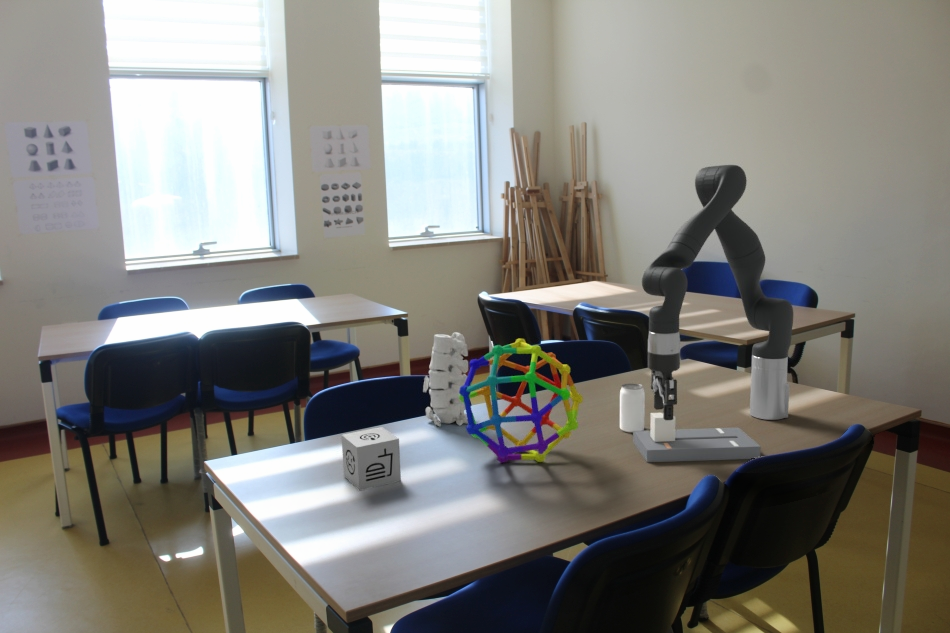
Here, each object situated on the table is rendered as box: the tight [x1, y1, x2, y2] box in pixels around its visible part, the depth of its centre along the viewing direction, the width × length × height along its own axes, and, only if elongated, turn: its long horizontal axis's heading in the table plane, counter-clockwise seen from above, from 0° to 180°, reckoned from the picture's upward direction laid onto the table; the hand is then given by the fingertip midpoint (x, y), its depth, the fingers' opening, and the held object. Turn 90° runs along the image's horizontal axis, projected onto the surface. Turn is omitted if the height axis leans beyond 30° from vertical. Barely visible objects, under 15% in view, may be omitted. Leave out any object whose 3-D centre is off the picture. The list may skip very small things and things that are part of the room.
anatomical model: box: [422, 331, 469, 427], centre depth 205 cm, size 11×12×25 cm
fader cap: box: [649, 412, 677, 442], centre depth 178 cm, size 5×4×6 cm
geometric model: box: [459, 338, 584, 464], centre depth 174 cm, size 30×30×30 cm
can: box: [619, 382, 646, 434], centre depth 195 cm, size 6×6×12 cm
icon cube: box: [341, 426, 402, 492], centre depth 167 cm, size 10×10×10 cm
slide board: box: [632, 427, 762, 463], centre depth 179 cm, size 27×14×3 cm, turn 91°
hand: (663, 414), depth 178 cm, fingers open, 8 cm apart
